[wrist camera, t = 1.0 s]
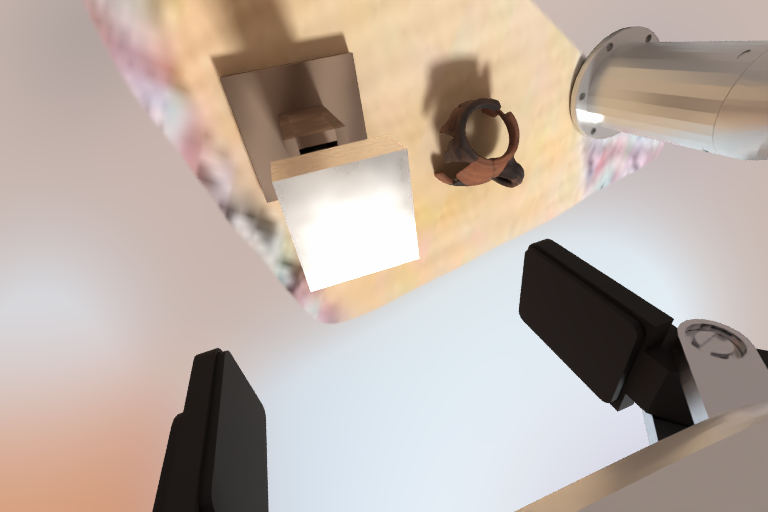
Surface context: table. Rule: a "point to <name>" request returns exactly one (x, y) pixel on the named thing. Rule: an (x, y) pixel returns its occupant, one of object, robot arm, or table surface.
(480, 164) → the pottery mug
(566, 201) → the table surface
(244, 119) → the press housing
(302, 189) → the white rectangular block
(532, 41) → the table surface
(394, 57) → the table surface
